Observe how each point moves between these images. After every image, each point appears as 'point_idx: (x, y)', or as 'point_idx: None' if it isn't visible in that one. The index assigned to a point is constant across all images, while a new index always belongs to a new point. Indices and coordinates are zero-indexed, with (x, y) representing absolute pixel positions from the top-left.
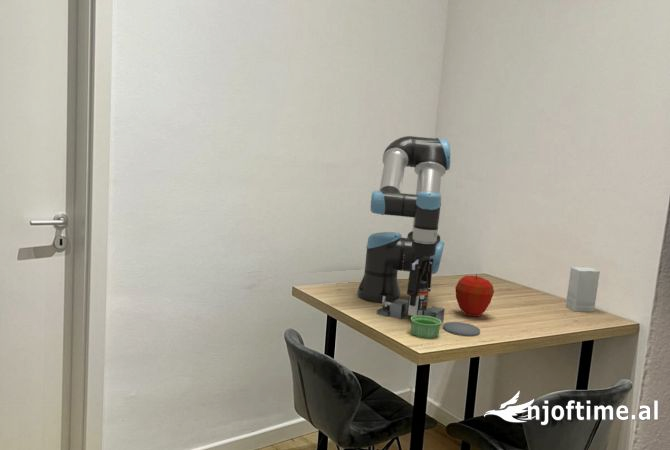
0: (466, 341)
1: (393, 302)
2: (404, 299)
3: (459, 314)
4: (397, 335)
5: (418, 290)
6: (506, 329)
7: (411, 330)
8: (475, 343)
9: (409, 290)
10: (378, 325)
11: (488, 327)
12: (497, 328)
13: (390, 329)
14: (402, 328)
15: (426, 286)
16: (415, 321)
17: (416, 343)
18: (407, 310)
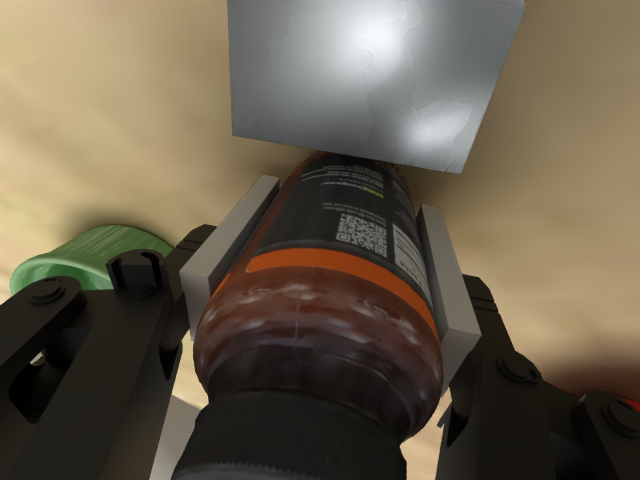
0: (198, 386)
1: (250, 10)
2: (489, 90)
3: (587, 374)
4: (2, 181)
5: (162, 397)
6: (424, 470)
7: (78, 236)
8: (204, 402)
9: (27, 328)
10: (9, 14)
11: (414, 439)
12: (419, 455)
13: (32, 120)
14: (112, 175)
15: (440, 463)
16: (12, 289)
17: (15, 267)
18: (313, 160)
